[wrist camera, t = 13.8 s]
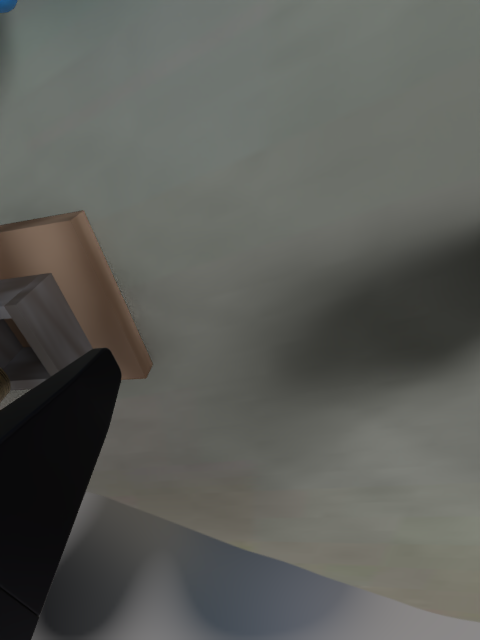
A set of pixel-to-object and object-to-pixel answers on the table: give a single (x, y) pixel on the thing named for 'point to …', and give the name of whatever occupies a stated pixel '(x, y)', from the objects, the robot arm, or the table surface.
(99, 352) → the robot arm
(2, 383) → the bronze post
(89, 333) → the post stand
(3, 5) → the alarm clock
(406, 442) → the table surface
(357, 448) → the table surface
